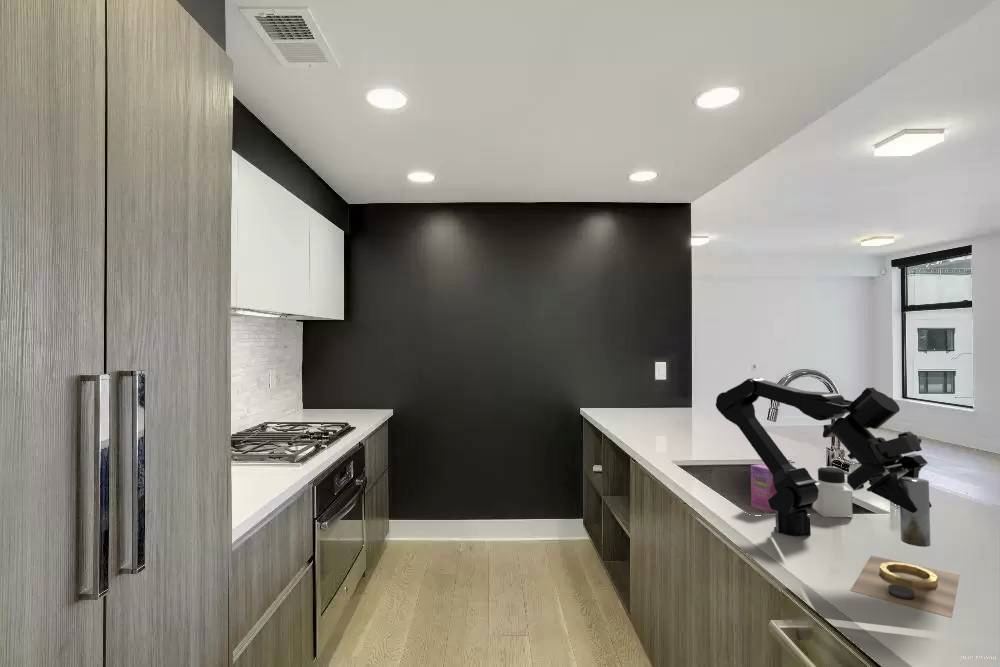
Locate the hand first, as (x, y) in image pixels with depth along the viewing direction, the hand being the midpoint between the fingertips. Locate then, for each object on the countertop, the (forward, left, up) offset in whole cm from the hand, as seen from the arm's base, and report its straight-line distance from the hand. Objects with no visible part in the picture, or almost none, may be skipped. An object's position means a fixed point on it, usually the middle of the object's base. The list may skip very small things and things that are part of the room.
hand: (922, 509), depth 100 cm
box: (-18, +42, -14) cm, 48 cm away
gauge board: (-4, -4, -14) cm, 15 cm away
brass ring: (-3, -1, -13) cm, 13 cm away
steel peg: (-1, +1, -7) cm, 7 cm away
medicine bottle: (-4, +40, -14) cm, 42 cm away
